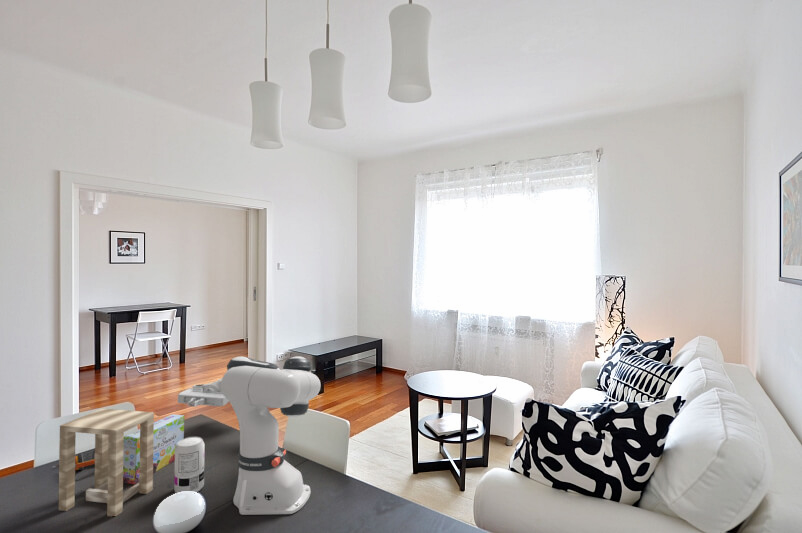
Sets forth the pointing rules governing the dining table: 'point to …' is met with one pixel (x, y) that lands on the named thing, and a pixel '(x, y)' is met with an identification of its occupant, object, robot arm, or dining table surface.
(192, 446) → the supplement can
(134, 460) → the snack box
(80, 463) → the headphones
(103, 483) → the footstool
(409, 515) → the dining table surface
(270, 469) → the robot arm
